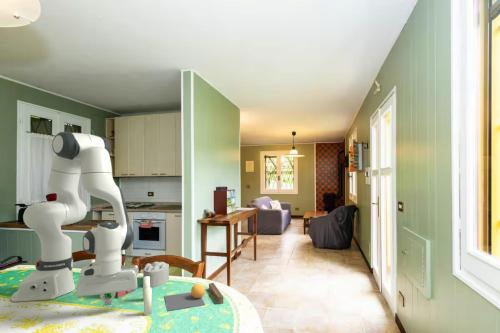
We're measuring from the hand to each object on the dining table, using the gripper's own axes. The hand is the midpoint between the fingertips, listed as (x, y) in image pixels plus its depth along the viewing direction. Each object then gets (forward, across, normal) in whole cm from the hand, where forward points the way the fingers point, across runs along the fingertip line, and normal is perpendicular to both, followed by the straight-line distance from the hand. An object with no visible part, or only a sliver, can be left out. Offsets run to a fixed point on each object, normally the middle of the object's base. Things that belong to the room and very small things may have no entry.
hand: (107, 304), depth 109 cm
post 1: (+3, -14, -6) cm, 15 cm away
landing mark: (+2, -28, 0) cm, 28 cm away
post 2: (+2, -14, +6) cm, 15 cm away
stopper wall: (+2, -41, 0) cm, 41 cm away
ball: (0, -33, -1) cm, 33 cm away
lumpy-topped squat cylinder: (+3, -18, -25) cm, 31 cm away
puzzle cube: (+3, -2, -19) cm, 19 cm away
